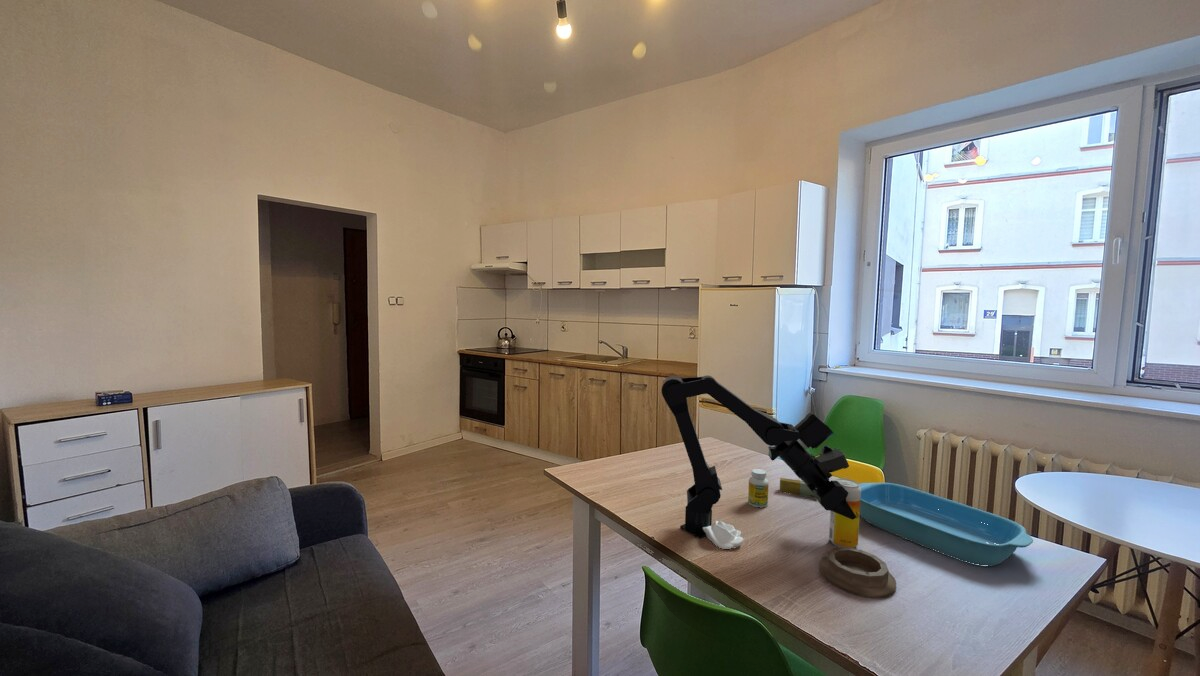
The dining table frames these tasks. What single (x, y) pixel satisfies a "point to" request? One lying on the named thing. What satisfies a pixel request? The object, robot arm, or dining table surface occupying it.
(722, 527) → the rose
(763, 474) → the supplement bottle
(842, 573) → the can holder
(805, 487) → the medication box
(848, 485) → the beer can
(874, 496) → the casserole dish
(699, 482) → the robot arm
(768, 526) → the dining table surface
